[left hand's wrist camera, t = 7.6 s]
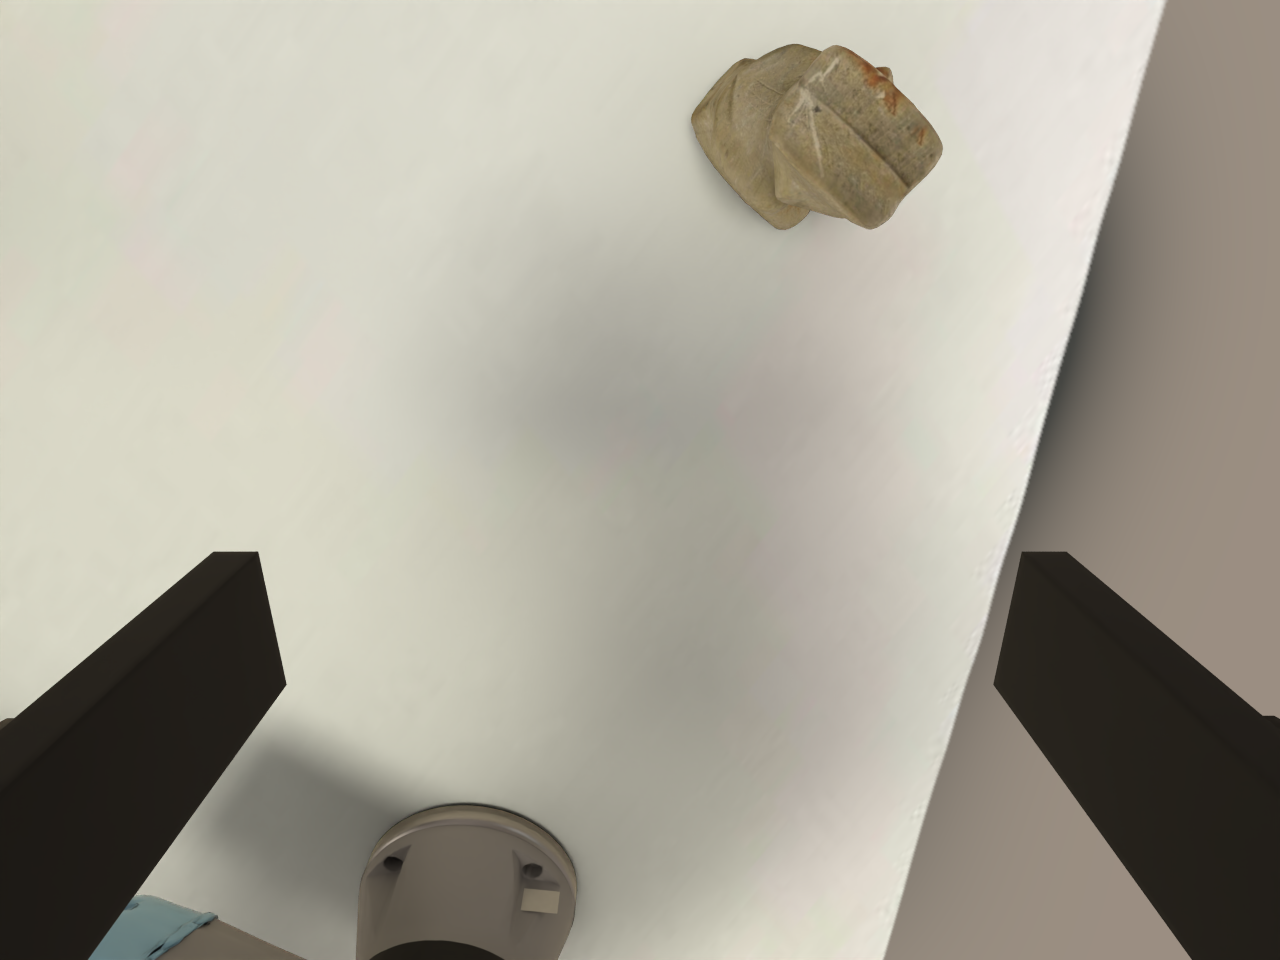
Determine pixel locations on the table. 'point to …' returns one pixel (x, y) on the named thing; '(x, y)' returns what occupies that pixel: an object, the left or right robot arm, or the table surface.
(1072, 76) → the table surface
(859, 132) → the sculpture
